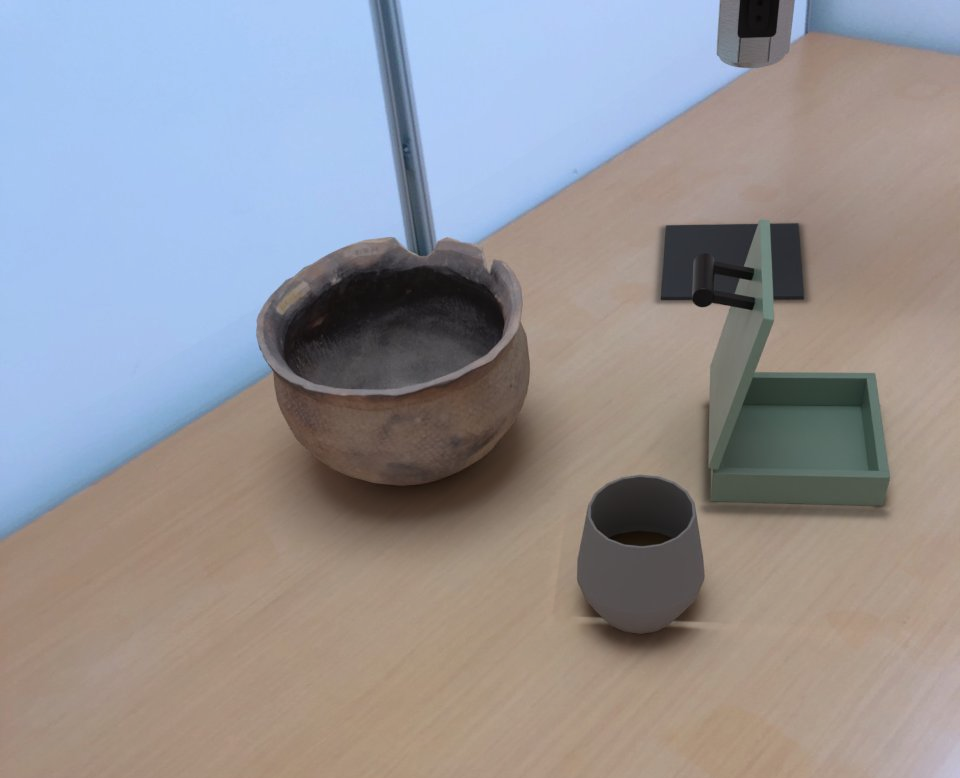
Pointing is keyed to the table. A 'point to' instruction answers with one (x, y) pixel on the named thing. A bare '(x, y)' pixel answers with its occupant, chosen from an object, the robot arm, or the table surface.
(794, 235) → the mat
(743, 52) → the octagonal grey canister
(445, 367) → the ceramic bowl
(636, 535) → the cup
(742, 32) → the robot arm
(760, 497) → the green tray
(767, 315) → the box lid
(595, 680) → the table surface
